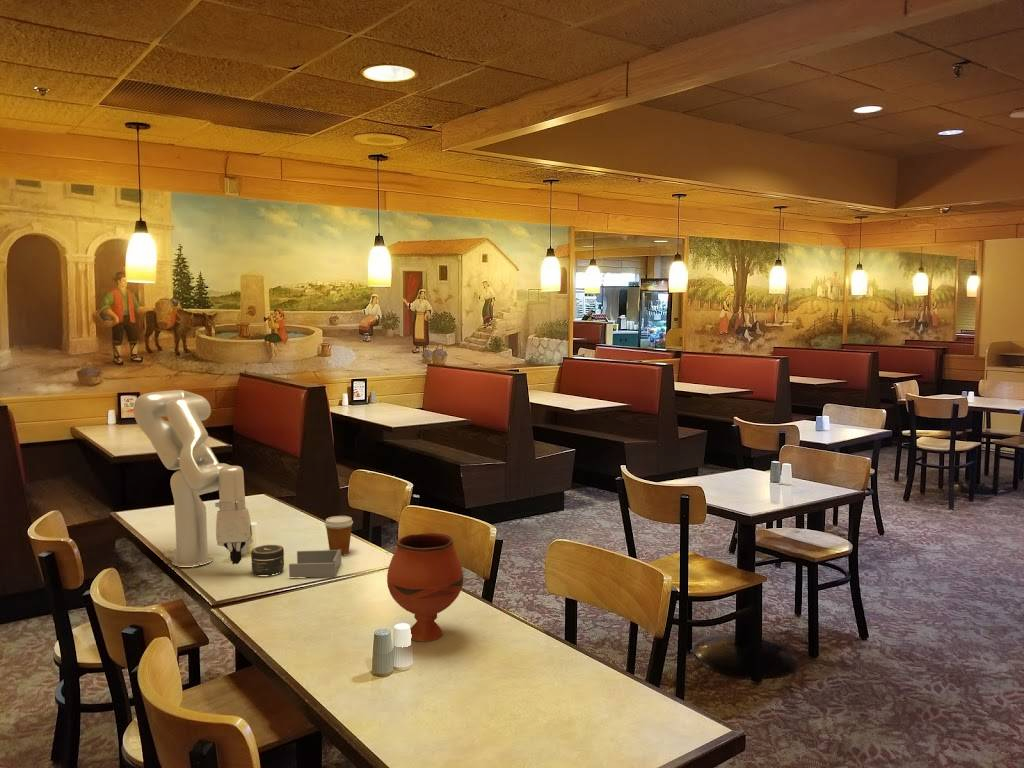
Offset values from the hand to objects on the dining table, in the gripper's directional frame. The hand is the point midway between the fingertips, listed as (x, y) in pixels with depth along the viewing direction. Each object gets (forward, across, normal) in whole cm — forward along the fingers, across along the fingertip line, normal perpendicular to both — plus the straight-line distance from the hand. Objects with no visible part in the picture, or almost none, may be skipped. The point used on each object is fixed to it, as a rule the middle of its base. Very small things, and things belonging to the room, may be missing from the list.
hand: (236, 562), depth 250 cm
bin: (+4, +24, +1) cm, 25 cm away
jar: (+4, +10, +1) cm, 10 cm away
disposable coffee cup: (+4, +30, +19) cm, 35 cm away
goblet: (+7, +61, -53) cm, 81 cm away
